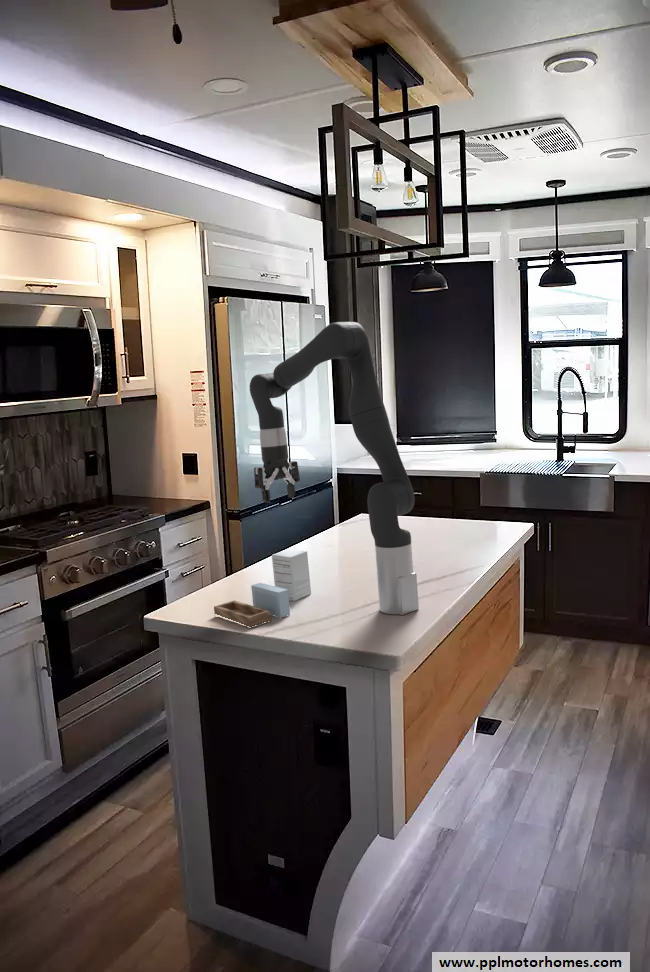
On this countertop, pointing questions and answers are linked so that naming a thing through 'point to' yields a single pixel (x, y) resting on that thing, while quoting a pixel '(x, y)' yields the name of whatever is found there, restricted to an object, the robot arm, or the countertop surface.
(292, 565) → the supplement box
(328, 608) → the countertop surface
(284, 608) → the light blue rectangular block
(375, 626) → the countertop surface
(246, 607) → the wooden tray
